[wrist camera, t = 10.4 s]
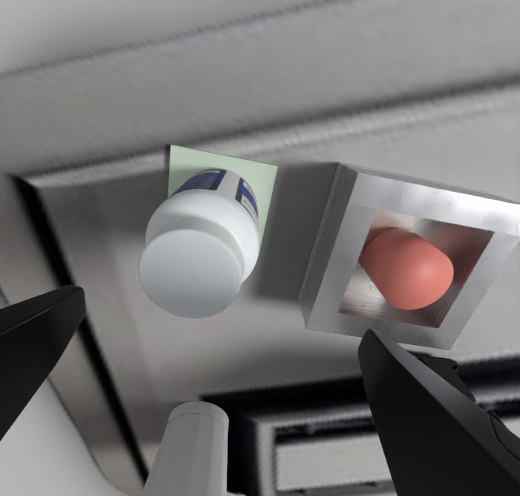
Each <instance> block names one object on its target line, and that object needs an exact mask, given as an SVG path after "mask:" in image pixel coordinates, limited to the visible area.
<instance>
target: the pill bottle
mask: <svg viewBox="0 0 520 496" xmlns="http://www.w3.org/2000/svg"><path fill="white" fill-rule="evenodd" d="M145 246H146V247H145V249H144V250H143V252H142V254H141V257H140V260H139V267H138V273H139V279H140V282H141V285H142V288H143V289H144V291H145V292H146V294H147V296H148V297H149V298H150V299H151V300H152V301H153V302H154V303H155V304H156V305H157V306H159V307H160V308H162V309H164V310H165V311H167V312H169V313H171V314H174V315H177V316H181V317H186V318H202V317H207V316H211V315H214V314H217V313H219V312H221V311H222V310H224V309H225V308H227V307H228V306H229V305H230V304H231V303H232V302H233V301H234V300H235V298H236V297H237V295H238V293H239V290H240V287H241V283H242V282H243V281H244V280H245V279H246V278H247V277H248V276H249V275H250V273H251V272H252V270H253V268H254V266H255V264H256V261H257V258H258V253H259V223H258V204H257V199H256V196H255V193H254V191H253V189H252V187H251V186H250V185H249V183H248V182H247V181H246V180H245V179H244V178H243V177H242V176H240V175H239V174H237V173H235V172H233V171H230V170H227V169H223V168H209V169H205V170H202V171H200V172H198V173H196V174H195V175H193V176H192V177H190V178H189V179H188V180H187V181H186V182H185V183H184V184H183V185H182V186H180V187H179V188H178V189H177V190H176V191H175V192H174V193H173V194H172V195H171V196H170V197H169V198H167V199H166V200H165V201H164V202H163V203H162V204H161V205H160V206H159V207H158V209H157V210H156V211H155V212H154V214H153V215H152V217H151V219H150V221H149V224H148V226H147V230H146V235H145Z"/></svg>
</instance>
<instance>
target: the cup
mask: <svg viewBox="0 0 520 496" xmlns="http://www.w3.org/2000/svg"><path fill="white" fill-rule="evenodd" d="M228 423H229V420H228V417H227V415H226V413H225V412H224V411H223V410H222V409H221V408H220V407H218V406H216V405H214V404H211V403H208V402H202V401H191V402H186V403H183V404H180V405H178V406H177V407H175V408H174V409H173V410H172V412H171V413H170V416H169V419H168V423H167V426H166V430H165V432H164V435H163V438H162V441H161V443H160V446H159V449H158V451H157V454H156V457H155V460H154V462H153V465H152V468H151V471H150V473H149V476H148V479H147V481H146V484H145V487H144V490H143V492H142V495H141V496H226V488H227V434H228Z"/></svg>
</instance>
